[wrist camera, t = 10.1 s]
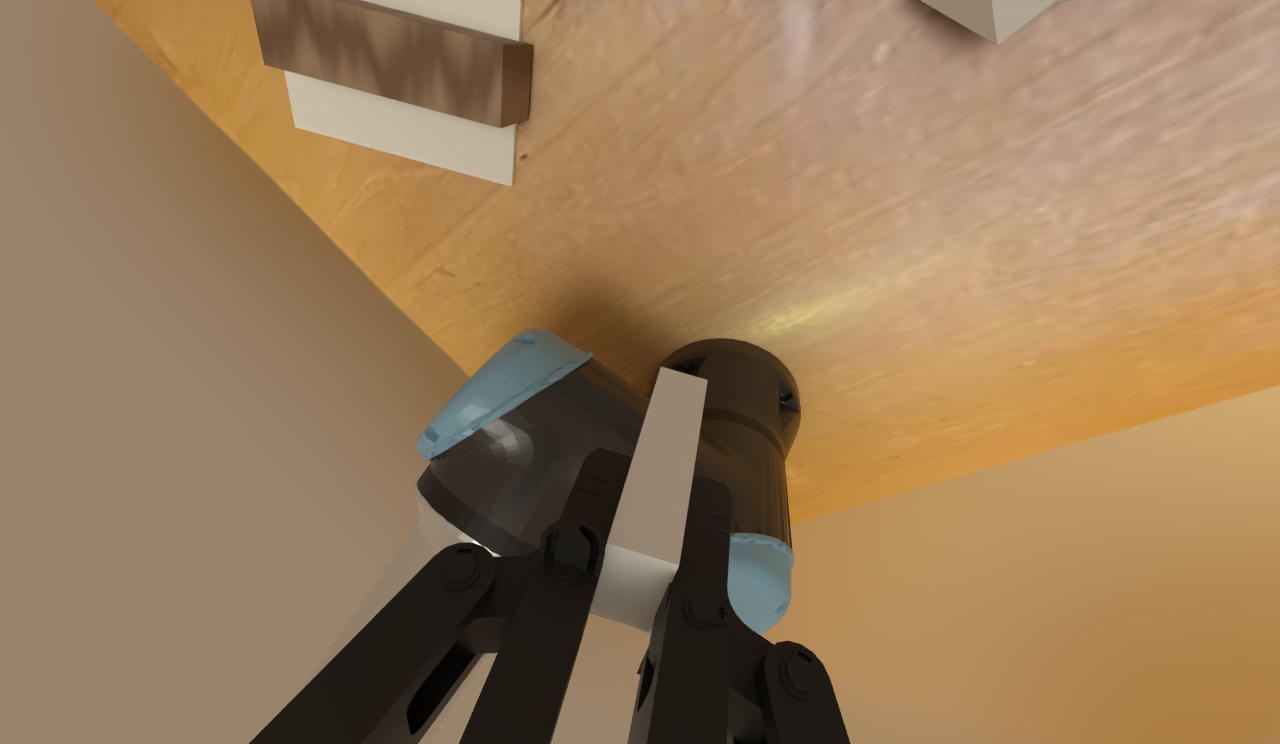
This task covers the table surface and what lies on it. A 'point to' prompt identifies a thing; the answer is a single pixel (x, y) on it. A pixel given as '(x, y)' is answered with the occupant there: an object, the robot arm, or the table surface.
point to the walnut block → (399, 57)
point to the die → (995, 15)
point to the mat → (410, 129)
